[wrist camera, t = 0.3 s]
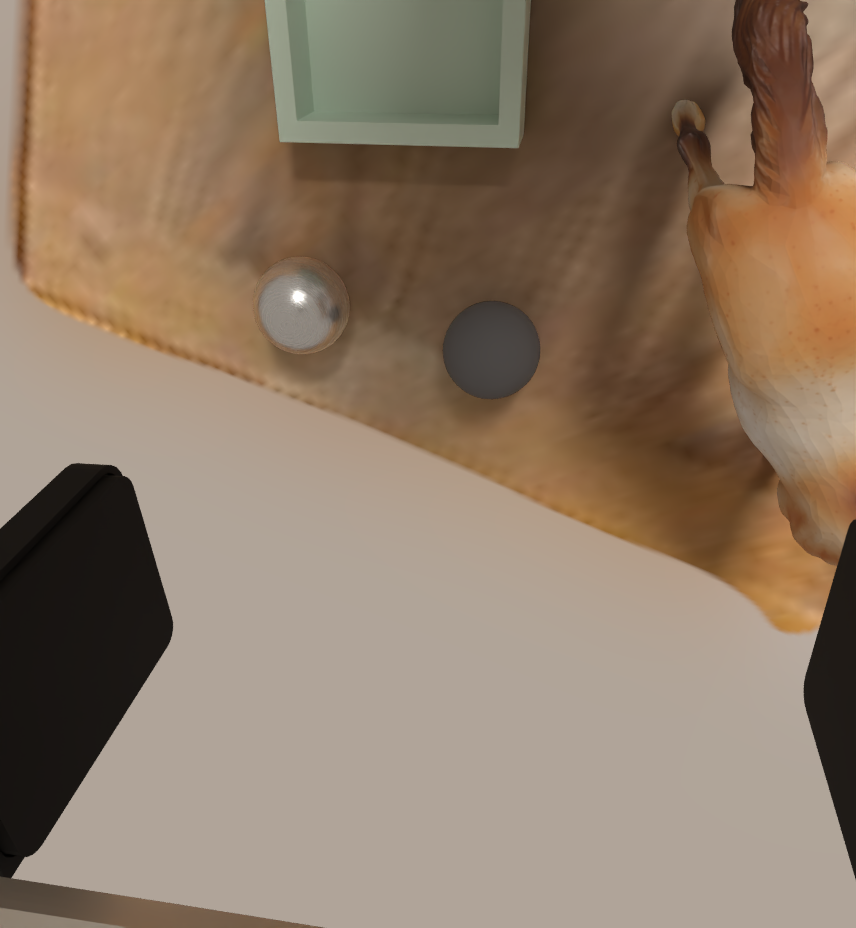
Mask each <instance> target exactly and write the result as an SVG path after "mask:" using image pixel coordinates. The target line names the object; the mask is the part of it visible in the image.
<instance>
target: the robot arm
mask: <svg viewBox="0 0 856 928" xmlns="http://www.w3.org/2000/svg"><path fill="white" fill-rule="evenodd" d="M172 631H173V620H172V616H171V613H170V609H169V606H168V602H167V599H166V595H165V592H164V589H163V586H162V582H161V578H160V576H159V572H158V569H157V565H156V561H155V558H154V555H153V551H152V548H151V544H150V541H149V538H148V534H147V531H146V528H145V524H144V521H143V517H142V514H141V510H140V507H139V504H138V501H137V497H136V494H135V490H134V487H133V484H132V482H131V481H130V479H128V478H127V477H125V476H122V474H121V472H120V471H119V470H118V468H117V467H115V466H112V465H98V464H80V463H76V464H71V465H69V466H68V467H66V468H65V469H64V470H63V471H62V472H61V473H59V474H58V475H57V476H56V477H55V478H54V479H53V480H52V481H51V482H50V483H49V484H48V485H47V486H46V487H45V488H44V489H42V490H41V491H40V492H39V493H38V494H37V495H36V496H35V497H34V498H33V499H32V500H31V501H29V503H27V504H26V505H25V506H24V507H23V508H22V509H21V510H20V511H19V512H18V513H17V514H16V515H15V516H14V517H12V518H11V519H10V520H9V521H8V522H7V523H6V524H5V525H4V526H3V527H2V528H1V529H0V928H323V927H316V926H310V925H304V924H298V923H291V922H285V921H279V920H273V919H266V918H260V917H254V916H248V915H242V914H235V913H229V912H223V911H216V910H209V909H204V908H198V907H191V906H185V905H179V904H172V903H166V902H160V901H153V900H146V899H141V898H134V897H127V896H121V895H115V894H108V893H101V892H95V891H89V890H83V889H76V888H69V887H63V886H57V885H50V884H44V883H37V882H30V881H25V880H18V879H11V878H12V876H13V874H14V873H15V871H16V870H17V868H18V867H19V865H20V864H21V862H22V860H23V859H24V857H28V856H30V855H33V854H34V853H35V852H36V851H37V850H38V849H39V848H40V847H41V845H42V844H43V843H44V841H45V839H46V838H47V836H48V835H49V833H50V832H51V830H52V828H53V827H54V825H55V824H56V822H57V820H58V818H59V817H60V816H61V814H62V813H63V811H64V809H65V808H66V806H67V805H68V803H69V801H70V800H71V798H72V797H73V795H74V793H75V792H76V790H77V789H78V787H79V786H80V784H81V782H82V781H83V779H84V778H85V776H86V775H87V773H88V771H89V769H90V768H91V767H92V765H93V764H94V762H95V760H96V759H97V757H98V756H99V754H100V752H101V751H102V749H103V748H104V746H105V744H106V743H107V741H108V740H109V738H110V737H111V735H112V733H113V732H114V730H115V729H116V727H117V726H118V724H119V722H120V721H121V719H122V718H123V716H124V714H125V713H126V711H127V709H128V708H129V707H130V705H131V703H132V702H133V700H134V699H135V697H136V696H137V694H138V692H139V691H140V689H141V687H142V686H143V684H144V683H145V681H146V680H147V678H148V677H149V675H150V673H151V672H152V670H153V669H154V667H155V665H156V663H157V662H158V661H159V659H160V658H161V656H162V654H163V653H164V651H165V649H166V648H167V646H168V644H169V642H170V640H171V637H172ZM804 702H805V707H806V711H807V715H808V718H809V721H810V725H811V729H812V732H813V735H814V739H815V742H816V746H817V749H818V752H819V756H820V759H821V763H822V766H823V769H824V773H825V776H826V780H827V783H828V786H829V790H830V793H831V797H832V800H833V803H834V807H835V810H836V814H837V817H838V820H839V824H840V827H841V831H842V834H843V838H844V841H845V844H846V848H847V851H848V854H849V858H850V861H851V865H852V868H853V872H854V875H855V878H856V519H855V520H853V521H852V522H851V523H850V525H849V528H848V531H847V534H846V537H845V541H844V544H843V548H842V551H841V555H840V558H839V562H838V565H837V569H836V572H835V576H834V579H833V582H832V586H831V589H830V593H829V596H828V600H827V603H826V607H825V610H824V614H823V617H822V620H821V624H820V627H819V631H818V634H817V638H816V641H815V645H814V648H813V652H812V655H811V659H810V662H809V666H808V669H807V672H806V676H805V681H804Z"/></svg>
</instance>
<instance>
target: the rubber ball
mask: <svg viewBox="0 0 856 928" xmlns="http://www.w3.org/2000/svg"><path fill="white" fill-rule="evenodd" d="M443 358H444V363H445V366H446V369H447V371H448V373H449V375H450V377H451V378H452V380H453V381H454V382H455V383H456V384H457V385H458V386H459V387H460V388H461V389H462V390H464V391H465V392H467V393H469V394H470V395H473V396H475V397H479V398H483V399H499V398H503V397H507V396H509V395H512V394H514V393H516V392H517V391H519V390H520V389H521V388H523V387H524V386H525V385H526V384H527V383H528V382H529V380H530V379H531V378H532V376H533V374H534V373H535V371H536V368H537V366H538V362H539V358H540V341H539V337H538V333H537V331H536V329H535V326H534V325H533V323H532V321H531V320H530V319H529V318H528V317H527V316H526V315H525V314H524V313H523V312H522V311H521V310H519V309H518V308H516V307H514V306H512V305H510V304H507V303H504V302H498V301H486V302H481V303H477V304H474V305H472V306H470V307H468V308H466V309H465V310H463V311H462V312H461V313H460V314H459V315H458V316H457V317H456V318H455V319H454V320H453V321H452V323H451V324H450V326H449V328H448V330H447V332H446V335H445V339H444V343H443Z"/></svg>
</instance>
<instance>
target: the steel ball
mask: <svg viewBox="0 0 856 928" xmlns="http://www.w3.org/2000/svg"><path fill="white" fill-rule="evenodd" d="M253 312H254V317H255V320H256V323H257V325H258V327H259V329H260V330H261V332H262V333H263V335H264V336H265V337H266V338H267V339H268V340H269V341H270V342H271V343H272V344H273V345H275V346H276V347H278V348H280V349H282V350H284V351H287V352H290V353H295V354H311V353H315V352H319V351H321V350H324V349H325V348H327V347H329V346H330V345H332V344H333V343H334V342H335V341H336V340H337V339H338V338H339V337H340V335H341V334H342V332H343V331H344V329H345V327H346V324H347V322H348V318H349V312H350V302H349V296H348V292H347V289H346V287H345V285H344V283H343V281H342V279H341V278H340V277H339V275H338V274H337V273H336V272H335V271H334V270H333V269H332V268H331V267H329V266H328V265H326V264H325V263H323V262H321V261H319V260H316V259H313V258H309V257H290V258H287V259H283V260H281V261H279V262H277V263H275V264H274V265H272V266H271V267H269V268H268V269H267V270H266V271H265V272H264V274H263V275H262V276H261V278H260V279H259V281H258V283H257V285H256V288H255V291H254V296H253Z"/></svg>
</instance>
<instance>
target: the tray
mask: <svg viewBox="0 0 856 928" xmlns="http://www.w3.org/2000/svg"><path fill="white" fill-rule="evenodd" d="M265 8H266V18H267V27H268V36H269V46H270V55H271V65H272V74H273V84H274V93H275V102H276V112H277V121H278V131H279V140H280V142H300V143H338V144H376V145H414V146H453V147H491V148H519V145H520V143H521V140H522V138H523V135H524V122H525V103H526V85H527V66H528V48H529V29H530V11H531V0H265Z"/></svg>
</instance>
